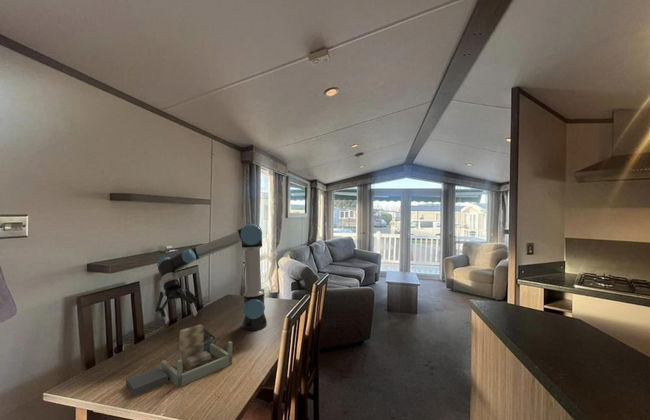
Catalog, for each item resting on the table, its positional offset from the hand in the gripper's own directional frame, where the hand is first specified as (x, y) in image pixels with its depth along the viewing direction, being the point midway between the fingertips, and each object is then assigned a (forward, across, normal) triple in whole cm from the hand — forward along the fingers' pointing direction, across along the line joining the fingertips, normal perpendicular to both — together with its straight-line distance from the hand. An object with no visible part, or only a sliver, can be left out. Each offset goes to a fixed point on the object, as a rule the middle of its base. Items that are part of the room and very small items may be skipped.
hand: (182, 318), depth 139 cm
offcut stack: (+27, +1, +2) cm, 27 cm away
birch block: (+20, 0, -5) cm, 21 cm away
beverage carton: (+11, -12, -15) cm, 22 cm away
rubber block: (+24, +20, -2) cm, 31 cm away
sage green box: (+25, 0, 0) cm, 25 cm away
